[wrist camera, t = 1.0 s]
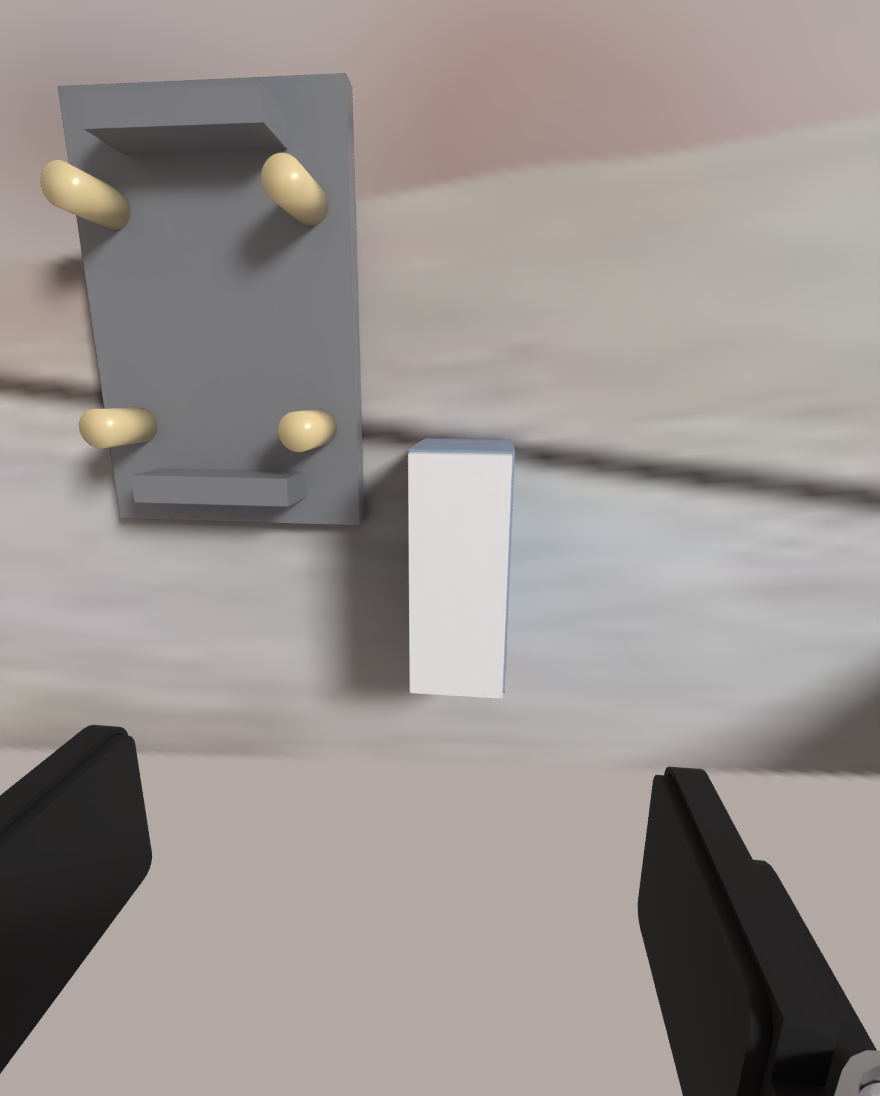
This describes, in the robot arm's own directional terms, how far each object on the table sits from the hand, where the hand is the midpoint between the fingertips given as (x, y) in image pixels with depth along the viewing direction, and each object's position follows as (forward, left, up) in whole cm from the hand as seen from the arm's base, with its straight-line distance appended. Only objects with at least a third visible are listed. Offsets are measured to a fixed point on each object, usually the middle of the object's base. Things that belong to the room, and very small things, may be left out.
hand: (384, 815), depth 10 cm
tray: (+11, -10, -18) cm, 23 cm away
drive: (0, 0, -19) cm, 19 cm away
